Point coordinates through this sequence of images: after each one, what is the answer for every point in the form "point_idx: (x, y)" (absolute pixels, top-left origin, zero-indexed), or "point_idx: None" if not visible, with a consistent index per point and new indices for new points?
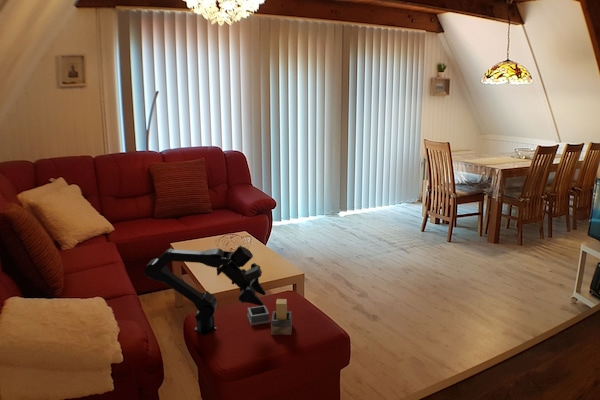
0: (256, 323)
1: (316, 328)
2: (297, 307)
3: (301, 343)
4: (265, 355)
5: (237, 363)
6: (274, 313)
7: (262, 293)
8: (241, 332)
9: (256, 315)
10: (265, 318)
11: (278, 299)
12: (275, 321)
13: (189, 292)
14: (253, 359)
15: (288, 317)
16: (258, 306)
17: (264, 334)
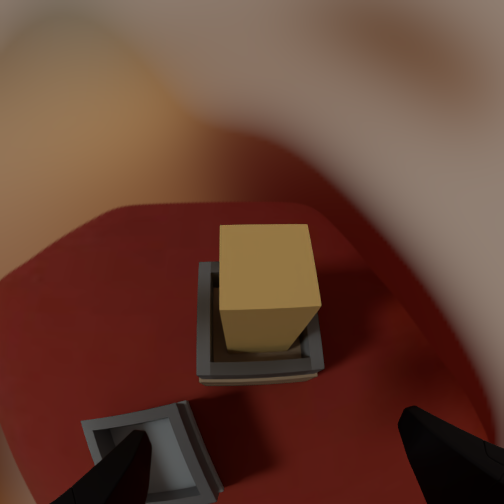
0: (212, 465)
1: (234, 206)
2: (67, 275)
3: (346, 251)
4: (440, 364)
5: (479, 434)
6: (226, 362)
7: (145, 466)
8: None
9: (202, 474)
10: (188, 423)
11: (230, 292)
12: (320, 345)
13: None
14: (462, 396)
15: (213, 291)
16: (94, 458)
17: (302, 413)
